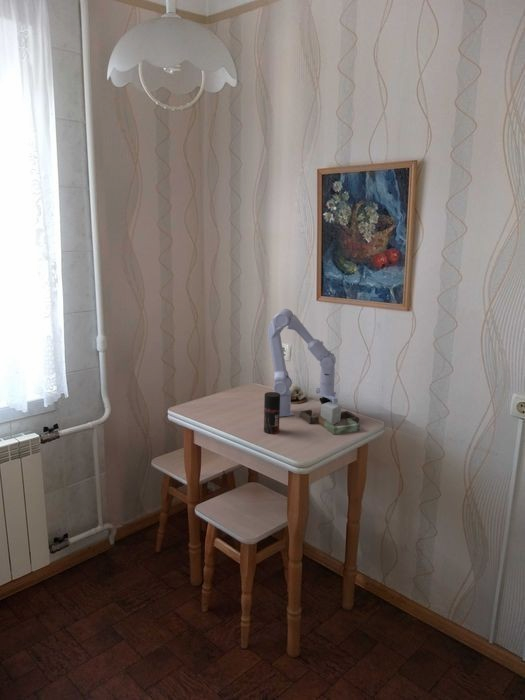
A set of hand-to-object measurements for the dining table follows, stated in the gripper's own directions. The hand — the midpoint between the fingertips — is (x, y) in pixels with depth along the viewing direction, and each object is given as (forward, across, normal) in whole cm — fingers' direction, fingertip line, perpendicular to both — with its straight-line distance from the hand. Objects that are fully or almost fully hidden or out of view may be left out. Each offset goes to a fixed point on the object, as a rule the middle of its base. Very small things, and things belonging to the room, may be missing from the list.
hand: (325, 414), depth 225 cm
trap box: (+2, -6, 0) cm, 6 cm away
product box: (+2, -5, +1) cm, 5 cm away
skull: (+2, +26, +2) cm, 26 cm away
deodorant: (+2, -6, +27) cm, 28 cm away
